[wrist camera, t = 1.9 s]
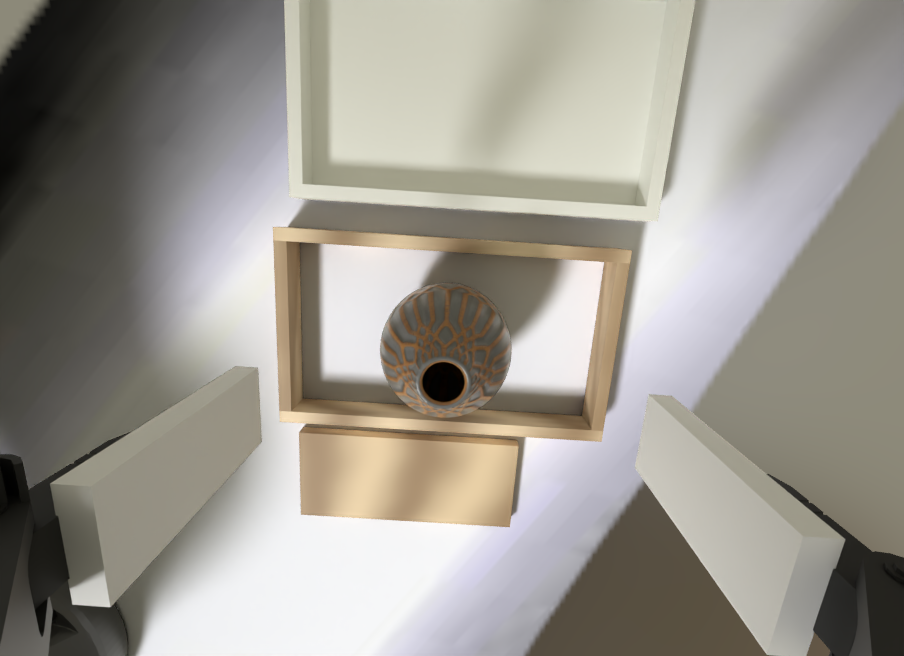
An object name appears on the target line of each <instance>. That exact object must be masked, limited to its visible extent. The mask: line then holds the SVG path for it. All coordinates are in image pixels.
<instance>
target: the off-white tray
mask: <svg viewBox="0 0 904 656" xmlns="http://www.w3.org/2000/svg"><path fill="white" fill-rule="evenodd" d="M695 1H696V0H284V9H285V48H286V86H287V125H288V164H289V197H292V198H298V199H304V200H319V201H334V202H350V203H365V204H380V205H396V206H411V207H426V208H441V209H457V210H472V211H487V212H503V213H518V214H533V215H549V216H564V217H579V218H594V219H610V220H625V221H658V216H659V210H660V204H661V198H662V192H663V186H664V181H665V175H666V169H667V163H668V157H669V152H670V146H671V140H672V134H673V128H674V123H675V117H676V111H677V105H678V99H679V94H680V88H681V82H682V76H683V70H684V65H685V59H686V53H687V47H688V41H689V36H690V30H691V24H692V18H693V12H694V7H695Z"/></svg>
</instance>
